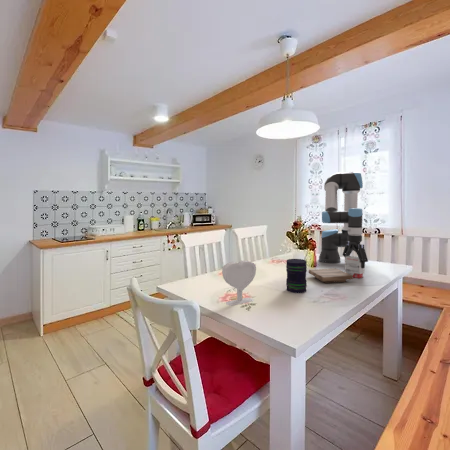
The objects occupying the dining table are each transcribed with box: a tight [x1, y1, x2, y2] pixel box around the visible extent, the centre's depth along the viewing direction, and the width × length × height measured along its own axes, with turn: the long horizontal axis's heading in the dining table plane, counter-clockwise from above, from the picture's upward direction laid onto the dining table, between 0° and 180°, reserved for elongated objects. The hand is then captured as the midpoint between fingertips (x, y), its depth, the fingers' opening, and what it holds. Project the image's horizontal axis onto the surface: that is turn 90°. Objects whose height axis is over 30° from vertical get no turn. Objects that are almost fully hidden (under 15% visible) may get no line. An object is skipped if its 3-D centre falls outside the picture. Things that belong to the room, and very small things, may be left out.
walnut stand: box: [308, 267, 354, 284], centre depth 153 cm, size 17×17×4 cm
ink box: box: [344, 255, 364, 279], centre depth 158 cm, size 8×5×12 cm, turn 39°
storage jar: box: [285, 258, 308, 294], centre depth 135 cm, size 10×10×15 cm
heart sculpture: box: [221, 259, 257, 307], centre depth 120 cm, size 16×5×18 cm, turn 118°
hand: (354, 270), depth 158 cm, fingers open, 13 cm apart
